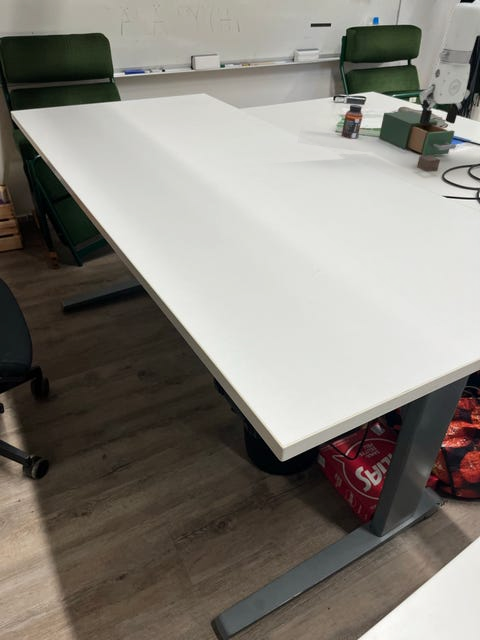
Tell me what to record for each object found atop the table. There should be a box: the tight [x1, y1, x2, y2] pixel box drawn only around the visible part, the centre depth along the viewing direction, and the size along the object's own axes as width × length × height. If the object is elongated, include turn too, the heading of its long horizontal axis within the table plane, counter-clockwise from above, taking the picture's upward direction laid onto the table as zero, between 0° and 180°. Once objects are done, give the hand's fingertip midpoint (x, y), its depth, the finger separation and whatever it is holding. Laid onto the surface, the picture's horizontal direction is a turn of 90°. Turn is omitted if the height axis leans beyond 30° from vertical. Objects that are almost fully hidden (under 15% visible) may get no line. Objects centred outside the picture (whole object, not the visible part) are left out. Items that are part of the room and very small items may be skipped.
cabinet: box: [378, 110, 439, 151], centre depth 170 cm, size 15×12×9 cm
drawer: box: [407, 124, 457, 156], centre depth 161 cm, size 18×10×7 cm, turn 23°
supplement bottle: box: [341, 104, 363, 140], centre depth 171 cm, size 6×6×11 cm
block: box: [416, 155, 441, 172], centre depth 147 cm, size 4×4×4 cm
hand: (436, 123), depth 140 cm, fingers open, 9 cm apart
